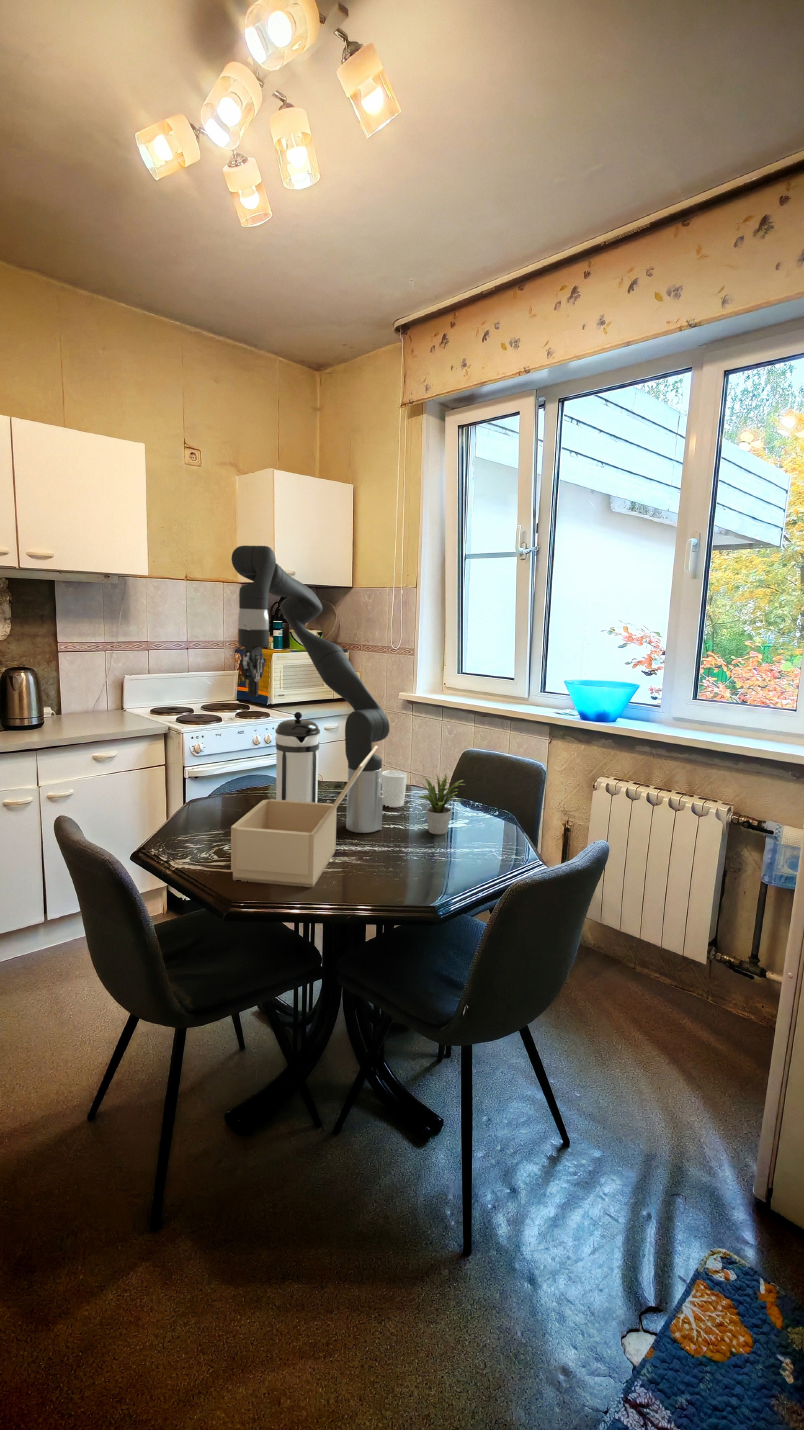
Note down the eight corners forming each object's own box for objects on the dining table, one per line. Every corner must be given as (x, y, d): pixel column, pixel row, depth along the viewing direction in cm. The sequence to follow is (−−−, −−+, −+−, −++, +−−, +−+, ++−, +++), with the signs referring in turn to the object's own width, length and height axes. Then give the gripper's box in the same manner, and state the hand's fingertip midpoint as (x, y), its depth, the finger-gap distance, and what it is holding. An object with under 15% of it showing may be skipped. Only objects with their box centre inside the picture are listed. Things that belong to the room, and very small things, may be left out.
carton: (335, 850, 163) (337, 804, 161) (312, 888, 140) (313, 835, 138) (264, 844, 165) (264, 798, 163) (229, 881, 142) (229, 828, 140)
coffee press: (334, 810, 195) (336, 711, 191) (298, 823, 182) (300, 717, 177) (291, 799, 205) (292, 705, 200) (254, 811, 191) (254, 710, 186)
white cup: (387, 809, 199) (388, 777, 197) (376, 802, 206) (377, 771, 204) (410, 806, 202) (411, 775, 201) (398, 799, 209) (399, 769, 208)
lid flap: (336, 803, 160) (338, 805, 160) (314, 832, 139) (316, 834, 139) (376, 745, 157) (378, 746, 157) (359, 765, 135) (362, 767, 135)
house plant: (469, 842, 173) (473, 782, 170) (418, 841, 172) (420, 781, 169) (460, 824, 187) (464, 769, 184) (413, 823, 186) (415, 768, 183)
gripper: (248, 626, 170) (248, 692, 172) (229, 627, 157) (229, 698, 159) (276, 627, 169) (275, 693, 171) (259, 628, 156) (258, 700, 158)
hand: (253, 696), depth 165 cm, fingers closed
